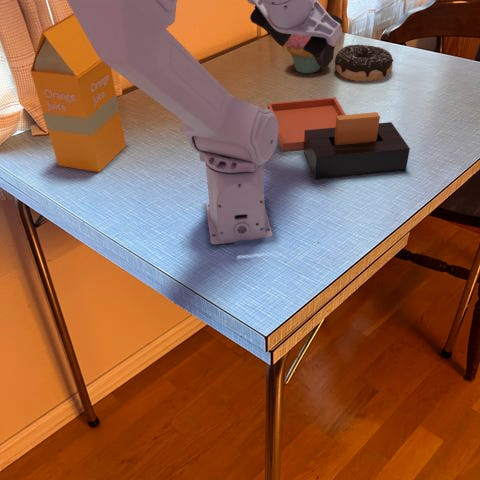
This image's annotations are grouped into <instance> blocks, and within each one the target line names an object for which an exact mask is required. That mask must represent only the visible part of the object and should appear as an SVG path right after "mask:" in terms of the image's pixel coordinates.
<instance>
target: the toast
mask: <svg viewBox="0 0 480 480" xmlns="http://www.w3.org/2000/svg"><path fill="white" fill-rule="evenodd" d="M380 121H381V115H380V114H379V112H377V111H374V112H363V113H354V114H353V113H352V114H345V115H341V116H336V127H335V140H334V146H336V145H346V144H356V143H367V142H377V134H378V127H379V123H380Z"/></svg>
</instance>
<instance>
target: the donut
mask: <svg viewBox="0 0 480 480" xmlns="http://www.w3.org/2000/svg"><path fill="white" fill-rule="evenodd" d="M393 62H394V59H393V56H392V54H391V53H390V51H389V50H387V49H385V48H384V47H381V46H375V45H367V44H365V45H364V44H349V45H346V46H343V47H342V48H341V49H339V51H337V53H336V55H335V58H334V68H335V70H336V72H337V73H338V74H339V75H340V76H341V77H343V78H344V79H347V80H349V81H356V82H373V81H379V80H382V79H384V78H386V77H388V76H389V75H390V74H391V73H392V70H393Z"/></svg>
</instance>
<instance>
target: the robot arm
mask: <svg viewBox="0 0 480 480" xmlns="http://www.w3.org/2000/svg"><path fill="white" fill-rule="evenodd" d="M66 2H67V3H68V6H69V8H70V9H71V11H72V12H73V13H74V14H75V16H76V18H77V20H78V22H79V23H80V25H81V27H82V29H83V31H84V32H85V34H86V36H87V38H88V40H89V41H90V43H91V45H92V47H93V48H94V50H95V52H96V54H97V55H98V57H99V58H100V59H101V60H102V61H103V62H104V63H106V64H107V65H108V66H110V67H111V70H113V71H114V72H116V73H117V74H119V75H120V76H122V77H123V78H124V79H126V80H127V81H128V82H129V83H131V84H132V85H134V86H135V87H136V88H138V89H139V90H140V91H142V92H143V93H145V95H147V96H148V97H150V98H151V99H152V100H154V101H155V102H157V104H159V105H160V106H161V107H163V108H164V109H166V110H167V111H169V112H170V113H171V114H172V115H174V116H175V117H177V118H178V119H179V120H180V121H181V122H180V123H181V124H180V132H181V133H183V134H184V135H186V137H187V140H188V142H189V145H190V146H191V148H192V150H194V151H195V152H198V153H199V161H201V162H204V163H205V172H206V183H207V193H208V194H207V195H208V201H207V202H206V203H205V210H206V216H207V224H208V231H209V239H210V244H212V245H224V244H234V243H235V242H240V241H248V240H250V241H251V240H257V239H266V238H267V239H269V238H272V237H273V231H272V227H271V223H270V219H269V216H268V212H267V209H266V205H265V194H264V193H265V189H264V186H265V185H264V183H265V182H264V181H265V180H264V165H265V164H266V163H267V162H268V161H269V160H270V159H271V157H272V156H273V154H274V153H275V150H276V147H277V143H278V121H277V118H276V116H275V114H274V112H273V111H272V110H269V109H268V108H265V109H262V108H261V107H259V106H258V105H256V104H254V103H251V102H248V101H246V100H243V99H240V98H238V97H235V96H233V95H232V94H231V93H230V92H229V91H228V90H227V89H226V88H225V87H224V86H223V85H222V84H221V83H220V82H219V81H218V80H217V79H216V78H215V77H214V76H213V74H211V73H210V72H209V71H208V70H207V69H206V67H204V66H203V65H202V63H200V61H199V60H197V59H196V58H195V56H194V55H193V54H192V53H191V52H190V51H189V50H188V49H186V48H185V46H183V45H182V43H181V42H180V41H179V40H178V39H177V38H176V37H175V36H173V34H172V33H171V32H170V31H169V30H168V28H169V27H170V26H172V25H173V24H174V23H175V22H176V15H177V14H176V13H177V3H178V0H66ZM247 2H248V4H251V5H254V8H253V10H252V12H251V14H250V16H249V19H250V22H251V23H252V24H255V25H256V26H258V27H260V28H262V29H263V30H264V31H265V32H266V33H267V34H268V35H269V36H270V37H271V38H272V39H273V40H274V42H276V43H277V44H278V45H279V46H281V47H284V46H286V43H287V41H288V39H290V37H291V36H292V35H293V34H296V35H306V36H312V37H311V38H310V39H309V41H308V42H307V44H306V45H305V46H304V48H303V49H304V50H305V51H307V52H309V53H310V54H312V55H313V56H314V58H315V59H316V61H317V63H318V65H319V66H320V69H323V70H326V69H327V68H328V66H329V65H330V63H331V62H332V61H333V60H334V53H335V46H336V44H337V43H338V41H339V40H340V39H341V38H342V35H343V34H344V33H343V27H344V23H343V20H342V18H341V17H339V16H338V15H336V14H333V13H330V14H329V13H328V12H327V11H326V8H324V7H323V5H322V4H321V3H320V2H319V0H247ZM73 13H72V14H73Z"/></svg>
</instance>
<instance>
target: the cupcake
mask: <svg viewBox="0 0 480 480" xmlns="http://www.w3.org/2000/svg"><path fill="white" fill-rule="evenodd" d="M311 37H312V36H306V35H296V34H291V37H290V38H289V39H288V41H287V42H286V43H285V46H286V49H287V50H286V51H287V52H289V54H290V55H291V58H292V60H293V61H292V62H293V64H294V69H295V71H296V72H299V73H302V74H312V73H316V72H318V71H319V70H320V69H321V67H320V66H319V65H318V63H317V61H316V59H315V58H314V56H313V55H312V54H310V53H309V52H307V51H305V50H304V49H303V48H304V46H305V45H306V44H307V42H308V41H309V39H310V38H311Z"/></svg>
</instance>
